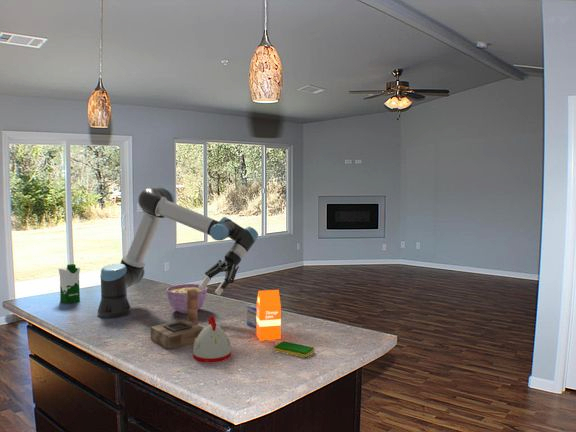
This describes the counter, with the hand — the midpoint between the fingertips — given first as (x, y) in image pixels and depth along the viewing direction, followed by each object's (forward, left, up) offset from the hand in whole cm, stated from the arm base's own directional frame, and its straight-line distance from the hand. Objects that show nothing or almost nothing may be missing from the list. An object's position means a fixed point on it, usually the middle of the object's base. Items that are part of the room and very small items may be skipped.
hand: (208, 291), depth 216 cm
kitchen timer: (+35, -21, -15) cm, 44 cm away
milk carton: (-79, -36, -15) cm, 88 cm away
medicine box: (+17, +14, -15) cm, 27 cm away
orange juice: (+33, +8, -15) cm, 37 cm away
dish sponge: (+52, +5, -15) cm, 55 cm away
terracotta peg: (-1, -8, -15) cm, 17 cm away
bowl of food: (-23, +2, -15) cm, 27 cm away
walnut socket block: (+11, -22, -15) cm, 29 cm away
